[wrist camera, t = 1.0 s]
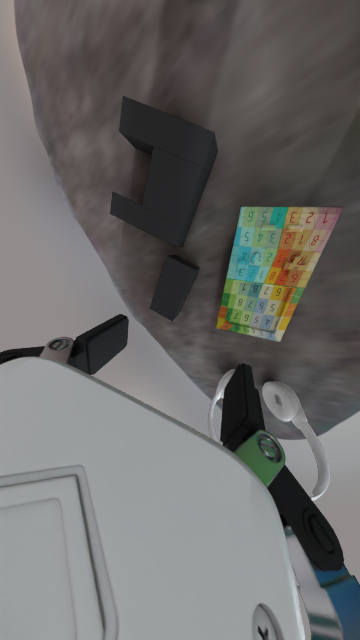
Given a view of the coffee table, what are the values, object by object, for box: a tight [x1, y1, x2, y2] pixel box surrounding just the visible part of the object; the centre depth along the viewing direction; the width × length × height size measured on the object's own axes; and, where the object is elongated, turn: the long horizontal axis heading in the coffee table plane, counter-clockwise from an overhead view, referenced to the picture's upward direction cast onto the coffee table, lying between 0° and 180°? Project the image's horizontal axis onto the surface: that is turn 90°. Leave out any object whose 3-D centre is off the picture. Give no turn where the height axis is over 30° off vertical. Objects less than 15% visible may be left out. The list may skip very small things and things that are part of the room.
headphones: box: [208, 369, 330, 501], centre depth 28 cm, size 7×18×20 cm, turn 87°
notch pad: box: [110, 96, 218, 247], centre depth 24 cm, size 14×14×4 cm
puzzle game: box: [216, 206, 343, 342], centre depth 25 cm, size 12×5×20 cm
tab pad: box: [150, 255, 200, 321], centre depth 31 cm, size 12×6×4 cm, turn 158°
